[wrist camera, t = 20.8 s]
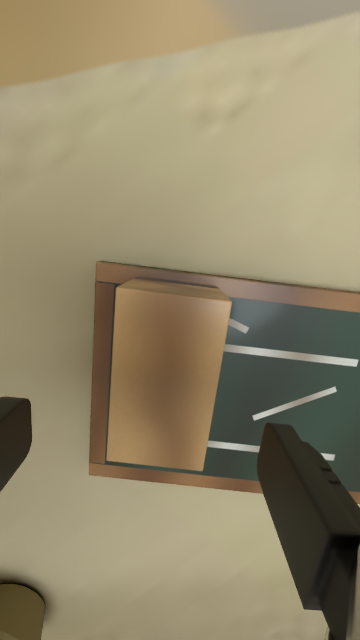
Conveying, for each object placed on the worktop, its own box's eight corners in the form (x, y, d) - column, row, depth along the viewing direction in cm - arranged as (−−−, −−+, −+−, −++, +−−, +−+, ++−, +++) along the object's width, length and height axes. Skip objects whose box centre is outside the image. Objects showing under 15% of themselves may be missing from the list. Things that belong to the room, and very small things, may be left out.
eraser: (126, 405, 18) (105, 461, 13) (136, 276, 16) (115, 286, 11) (197, 413, 18) (202, 471, 13) (217, 285, 16) (232, 300, 11)
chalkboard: (93, 462, 21) (88, 475, 20) (102, 261, 17) (96, 261, 15) (361, 491, 21) (371, 505, 20) (432, 301, 17) (451, 304, 16)
